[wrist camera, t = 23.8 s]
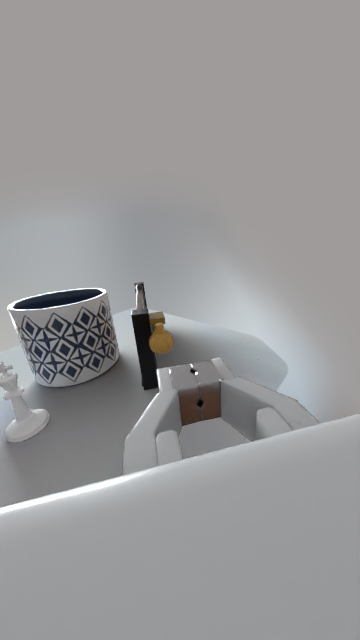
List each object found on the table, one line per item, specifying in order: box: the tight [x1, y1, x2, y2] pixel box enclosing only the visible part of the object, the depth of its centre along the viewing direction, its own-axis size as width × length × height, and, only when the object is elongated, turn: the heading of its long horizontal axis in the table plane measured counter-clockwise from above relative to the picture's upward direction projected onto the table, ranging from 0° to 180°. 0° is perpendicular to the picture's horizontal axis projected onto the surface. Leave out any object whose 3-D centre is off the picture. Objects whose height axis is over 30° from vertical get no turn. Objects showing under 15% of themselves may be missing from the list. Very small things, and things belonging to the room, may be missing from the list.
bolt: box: [149, 323, 174, 354], centre depth 29 cm, size 11×3×4 cm, turn 11°
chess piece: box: [0, 362, 50, 442], centre depth 26 cm, size 5×5×10 cm
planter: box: [8, 288, 119, 387], centre depth 39 cm, size 16×16×14 cm
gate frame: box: [131, 282, 165, 390], centre depth 44 cm, size 29×5×13 cm, turn 11°
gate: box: [136, 284, 146, 310], centre depth 44 cm, size 23×2×12 cm, turn 11°
